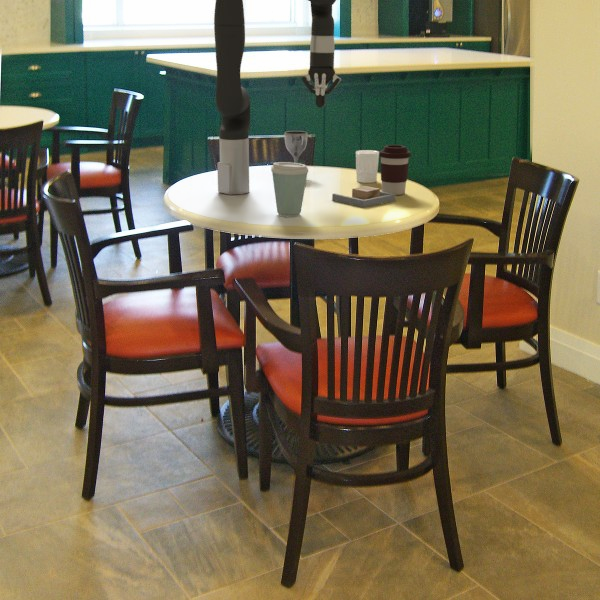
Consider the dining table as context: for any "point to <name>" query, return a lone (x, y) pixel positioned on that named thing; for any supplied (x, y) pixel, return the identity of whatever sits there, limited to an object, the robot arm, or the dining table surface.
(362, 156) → the white cup
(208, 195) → the dining table surface
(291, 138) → the wine glass
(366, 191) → the walnut block
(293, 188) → the disposable coffee cup
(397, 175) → the coffee cup
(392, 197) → the grey corral
